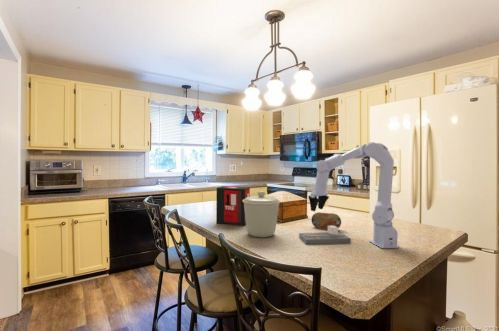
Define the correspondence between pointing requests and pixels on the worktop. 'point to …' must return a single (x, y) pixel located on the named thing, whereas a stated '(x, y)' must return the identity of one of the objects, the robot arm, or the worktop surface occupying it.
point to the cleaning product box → (231, 205)
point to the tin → (325, 220)
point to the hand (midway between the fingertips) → (316, 209)
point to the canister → (261, 214)
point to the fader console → (324, 238)
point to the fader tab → (332, 230)
